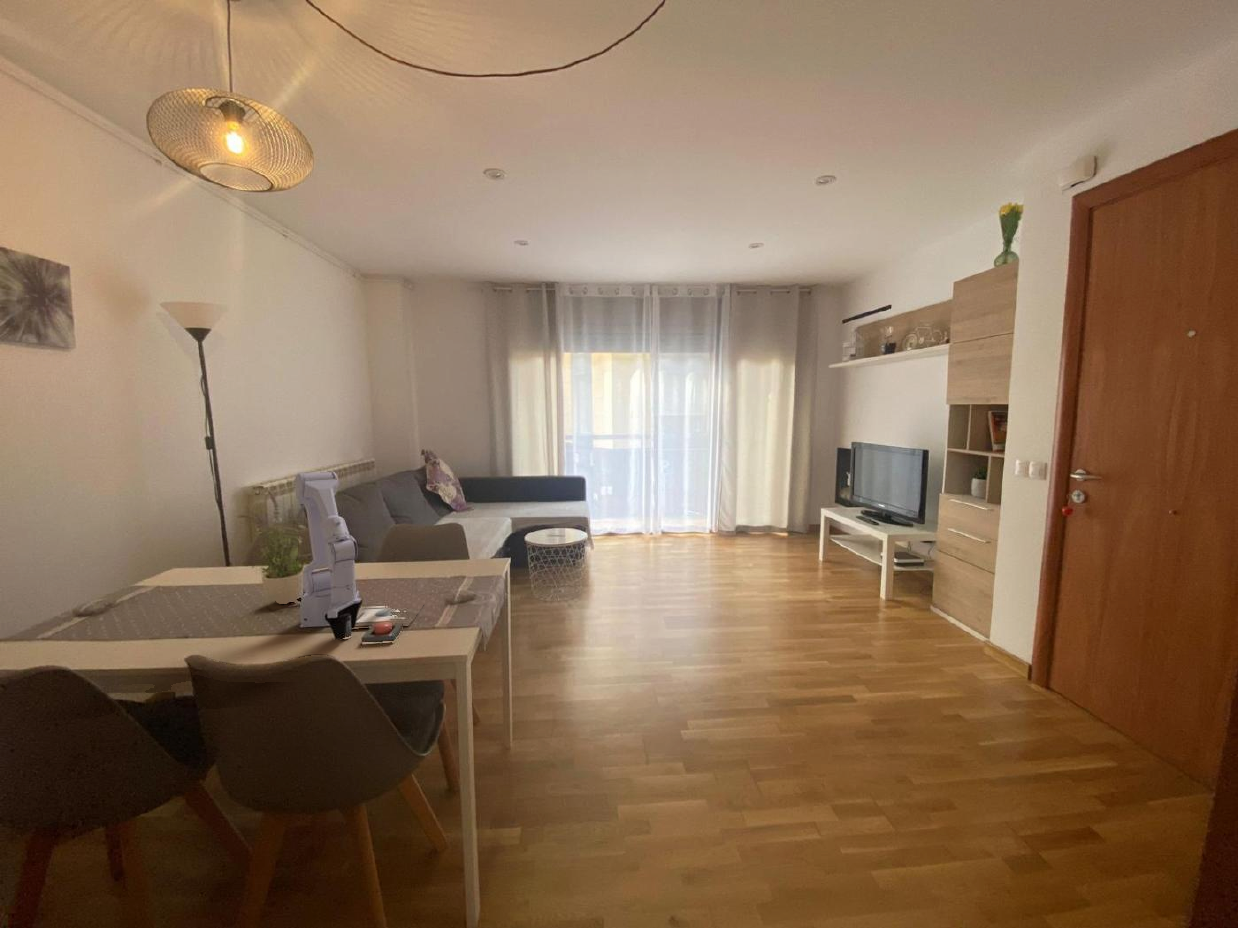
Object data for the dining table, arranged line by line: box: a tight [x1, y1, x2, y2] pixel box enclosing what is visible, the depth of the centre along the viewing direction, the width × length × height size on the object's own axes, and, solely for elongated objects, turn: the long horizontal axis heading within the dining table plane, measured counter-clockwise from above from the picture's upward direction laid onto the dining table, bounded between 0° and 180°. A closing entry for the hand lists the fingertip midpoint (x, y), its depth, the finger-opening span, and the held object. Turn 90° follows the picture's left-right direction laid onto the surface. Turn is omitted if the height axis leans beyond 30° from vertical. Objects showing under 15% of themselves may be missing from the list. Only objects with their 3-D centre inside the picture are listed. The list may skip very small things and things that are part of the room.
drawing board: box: [355, 604, 406, 627], centre depth 138 cm, size 20×16×1 cm
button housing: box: [361, 623, 404, 643], centre depth 125 cm, size 8×8×2 cm
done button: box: [374, 621, 392, 635], centre depth 125 cm, size 4×4×2 cm
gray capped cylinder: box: [345, 615, 352, 637], centre depth 124 cm, size 3×3×6 cm
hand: (345, 632), depth 125 cm, fingers open, 6 cm apart
